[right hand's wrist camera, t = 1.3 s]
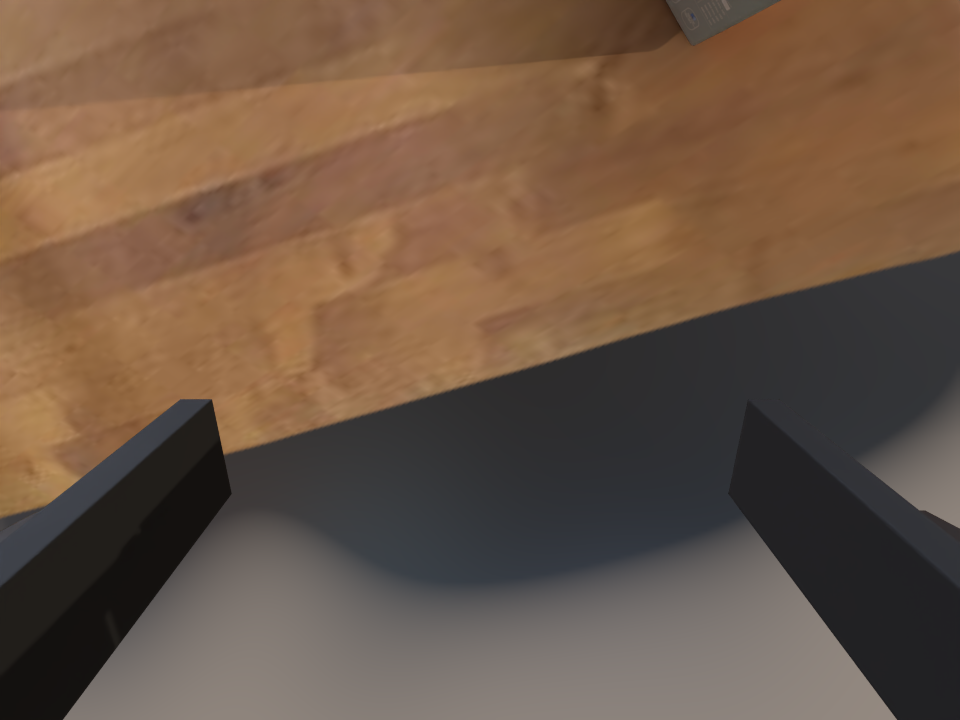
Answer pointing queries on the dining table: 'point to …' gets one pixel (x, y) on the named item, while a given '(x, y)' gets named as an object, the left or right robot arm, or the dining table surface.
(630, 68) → the dining table surface
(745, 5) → the hard drive box
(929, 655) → the right robot arm
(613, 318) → the dining table surface
